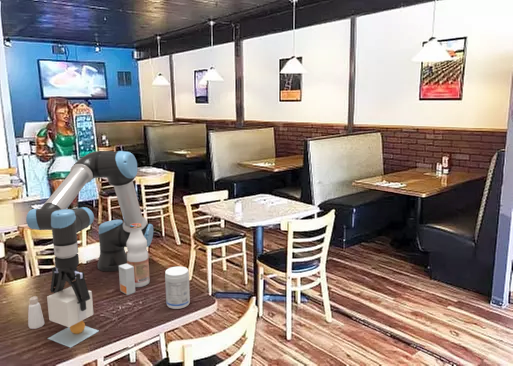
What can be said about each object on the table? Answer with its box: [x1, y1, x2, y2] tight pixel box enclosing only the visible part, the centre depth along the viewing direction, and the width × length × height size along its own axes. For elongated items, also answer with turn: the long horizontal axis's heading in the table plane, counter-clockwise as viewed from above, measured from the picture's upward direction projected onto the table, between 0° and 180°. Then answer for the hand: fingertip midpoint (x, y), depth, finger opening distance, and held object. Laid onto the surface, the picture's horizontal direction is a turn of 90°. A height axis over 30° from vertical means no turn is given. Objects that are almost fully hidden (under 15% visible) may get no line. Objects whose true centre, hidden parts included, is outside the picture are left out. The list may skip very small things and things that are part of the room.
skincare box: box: [118, 263, 136, 296], centre depth 184 cm, size 6×4×12 cm
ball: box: [70, 320, 86, 334], centre depth 151 cm, size 5×5×5 cm
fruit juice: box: [126, 223, 151, 288], centre depth 191 cm, size 9×9×28 cm
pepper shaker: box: [27, 295, 45, 330], centre depth 156 cm, size 5×5×11 cm
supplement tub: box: [164, 265, 191, 310], centre depth 172 cm, size 10×10×15 cm
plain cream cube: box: [46, 285, 94, 328], centre depth 148 cm, size 10×10×9 cm
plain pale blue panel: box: [47, 325, 100, 349], centre depth 151 cm, size 12×12×1 cm
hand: (71, 315), depth 149 cm, fingers closed on plain cream cube, 10 cm apart
